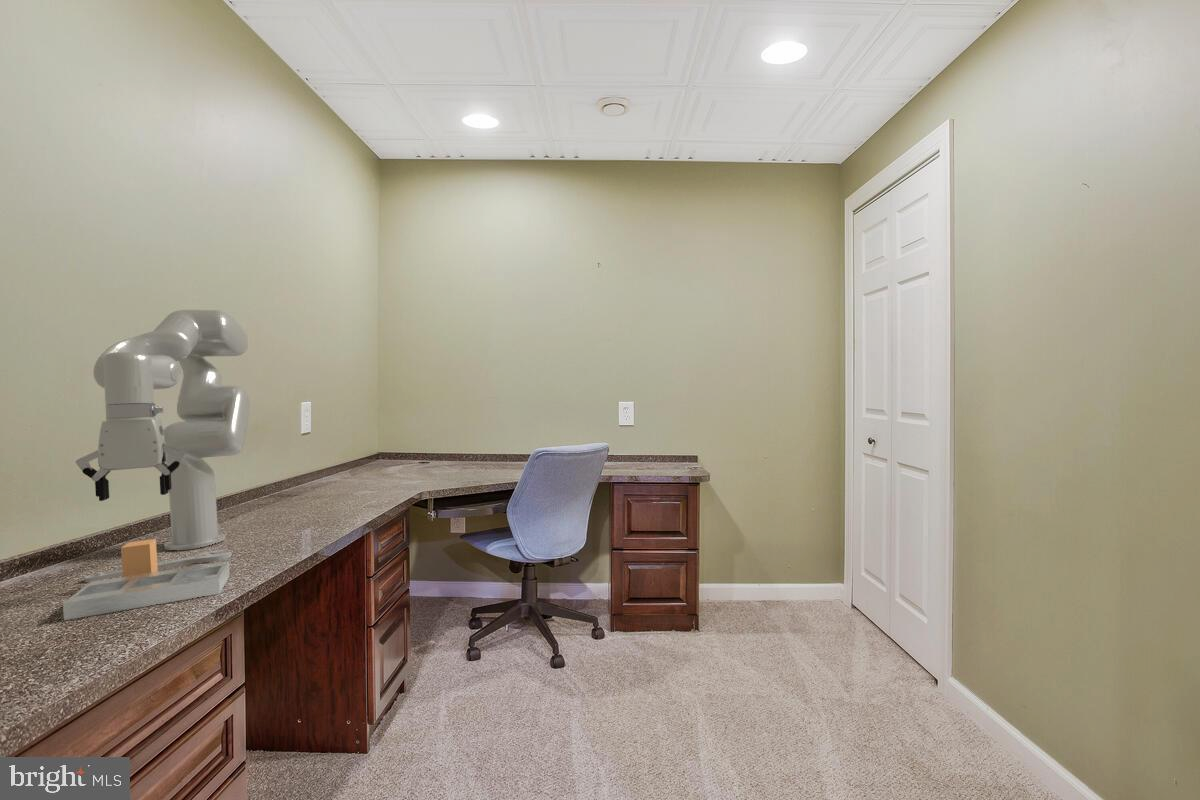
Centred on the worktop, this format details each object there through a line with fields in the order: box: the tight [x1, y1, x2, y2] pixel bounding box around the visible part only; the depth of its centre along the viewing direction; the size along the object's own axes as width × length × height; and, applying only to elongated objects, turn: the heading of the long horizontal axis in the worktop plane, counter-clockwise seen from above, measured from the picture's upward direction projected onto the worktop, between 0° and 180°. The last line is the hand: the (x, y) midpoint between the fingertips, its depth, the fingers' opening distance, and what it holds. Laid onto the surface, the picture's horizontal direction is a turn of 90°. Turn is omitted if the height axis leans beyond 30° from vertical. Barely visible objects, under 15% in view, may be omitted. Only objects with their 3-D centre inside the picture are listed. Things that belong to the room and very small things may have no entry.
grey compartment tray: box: [62, 560, 231, 622], centre depth 102 cm, size 12×22×3 cm, turn 117°
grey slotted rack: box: [83, 549, 233, 583], centre depth 120 cm, size 25×6×2 cm, turn 122°
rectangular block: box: [120, 538, 159, 577], centre depth 111 cm, size 4×4×8 cm
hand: (135, 496), depth 110 cm, fingers open, 9 cm apart
